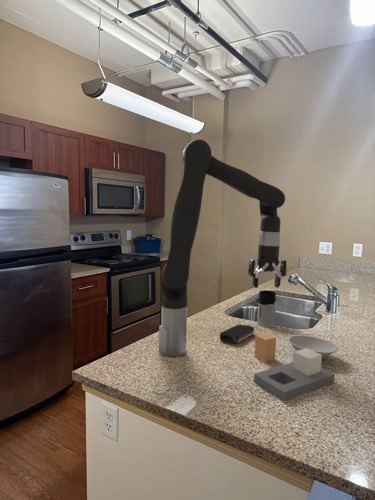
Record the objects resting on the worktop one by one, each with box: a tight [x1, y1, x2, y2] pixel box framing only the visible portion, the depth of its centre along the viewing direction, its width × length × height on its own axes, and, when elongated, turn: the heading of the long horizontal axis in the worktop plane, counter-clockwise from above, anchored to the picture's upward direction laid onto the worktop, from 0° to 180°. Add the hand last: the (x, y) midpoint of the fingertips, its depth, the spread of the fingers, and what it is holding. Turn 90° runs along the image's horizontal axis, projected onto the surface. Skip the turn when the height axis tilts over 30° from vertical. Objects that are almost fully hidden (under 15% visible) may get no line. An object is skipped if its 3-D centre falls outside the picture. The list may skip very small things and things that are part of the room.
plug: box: [254, 332, 277, 363], centre depth 121 cm, size 5×5×8 cm
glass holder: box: [245, 290, 277, 328], centre depth 156 cm, size 9×14×15 cm, turn 95°
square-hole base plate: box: [253, 348, 336, 401], centre depth 104 cm, size 22×12×8 cm, turn 121°
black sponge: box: [219, 324, 255, 344], centre depth 140 cm, size 16×8×4 cm, turn 142°
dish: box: [287, 334, 339, 358], centre depth 123 cm, size 18×14×5 cm
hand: (266, 287), depth 127 cm, fingers open, 8 cm apart
